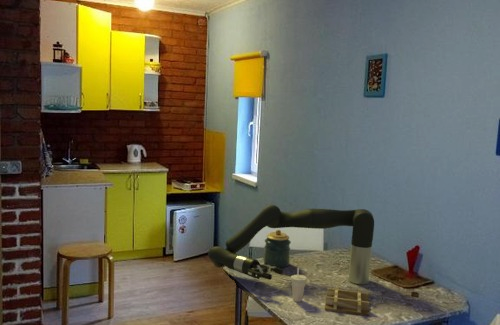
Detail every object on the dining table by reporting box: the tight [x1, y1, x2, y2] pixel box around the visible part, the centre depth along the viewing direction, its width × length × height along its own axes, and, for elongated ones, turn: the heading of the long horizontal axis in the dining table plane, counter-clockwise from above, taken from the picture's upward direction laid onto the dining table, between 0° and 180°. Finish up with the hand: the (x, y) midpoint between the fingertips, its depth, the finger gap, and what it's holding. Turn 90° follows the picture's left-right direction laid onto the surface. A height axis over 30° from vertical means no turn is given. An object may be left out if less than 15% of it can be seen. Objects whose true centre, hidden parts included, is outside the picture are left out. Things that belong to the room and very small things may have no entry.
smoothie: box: [290, 266, 308, 303], centre depth 197 cm, size 6×6×14 cm
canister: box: [263, 229, 291, 269], centre depth 239 cm, size 13×13×18 cm
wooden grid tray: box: [324, 285, 371, 317], centre depth 195 cm, size 17×17×4 cm
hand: (277, 274), depth 203 cm, fingers open, 8 cm apart
